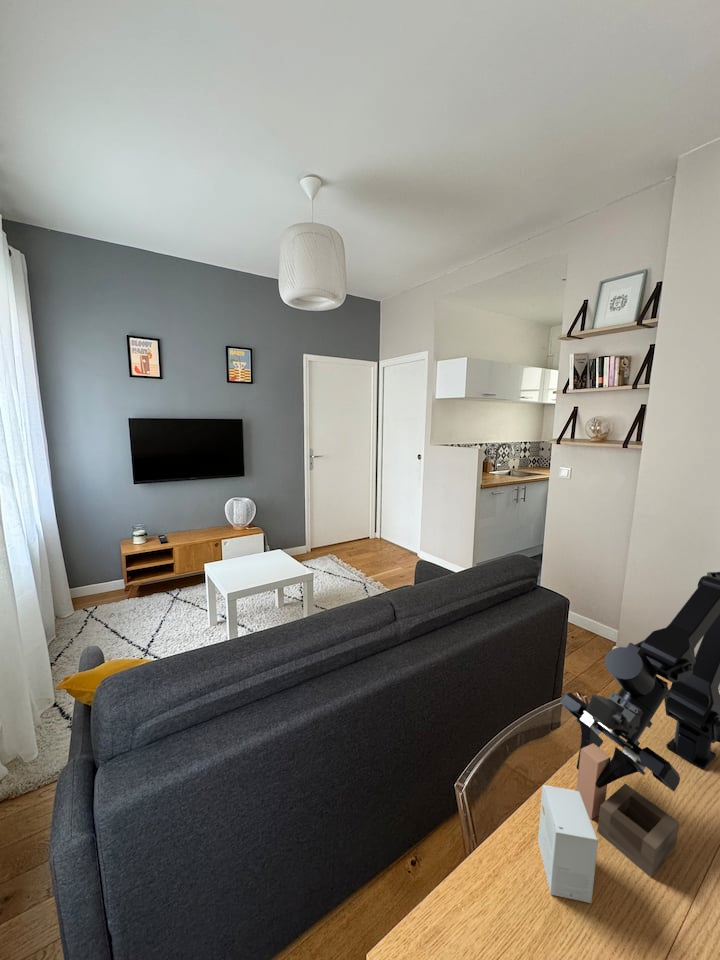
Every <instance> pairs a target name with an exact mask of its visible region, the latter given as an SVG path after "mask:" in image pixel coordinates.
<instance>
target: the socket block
mask: <svg viewBox="0 0 720 960" xmlns="http://www.w3.org/2000/svg"><path fill="white" fill-rule="evenodd" d="M597 821H598V822H597V829H596V831H597V833H598V834H600V836H602V837H603V838H604V839H605V840H606V841H608V842H609V843H610V844H611V845H612V846H613V847H614V848H616V850H618V851H619V852H620V853H622V855H624V856H625V857H626V858H627V859H628V860H630V861H631V862H632V863H633V864H635V865H636V866H637V867H638V868H640V870H641V871H643V872H644V873H645V874H646V875H647V876H648V877H650V878H653V876H654V875H655V874H656V873H657V872H658V870H659V869H660V868H661V867H662V866H663V865H664V864H665V862H666V861H667V860H668V858H670V856H671V855H672V854H673V853H674V851H675V850H676V846H677V841H678V835H679V834H678V833H679V828H680V822H679V821H678V820H677V819H676V818H674V817H673V816H671V815H670V814H669V813H667V812H666V811H664V810H663V809H661V808H660V807H658V806H657V805H656V804H655V803H653V802H652V801H650V800H649V799H648V798H647V797H645V796H643V794H640V792H638V791H636V790H635V789H634V788H633V787H631V786H629V785H628V784H627V783H624V784H622V786H620V787H619V788H618V789H617V790H616V791H615V792H614V793H612V794H611V795H610V796H609V797H608V798H607V799H605V802H604V803H602V804H601V805H600V812H599V816H598V820H597Z"/></svg>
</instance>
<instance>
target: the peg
mask: <svg viewBox="0 0 720 960" xmlns="http://www.w3.org/2000/svg"><path fill="white" fill-rule="evenodd" d="M611 759H612V758H611V756H610V755H609V754H608V753H606V752H605V751H604V750H602V749H601V747H598V746H596V745H595V744H594V743H593V744H590V745H588V746H586V747H584V748H582V749H581V752H580V761H579V770H578V769H577V772H578V773H577V781H576V787H575V788H576V790H575V791H579V792H580V794H581V797H582V799H583V802H584V805H585V807H586V810H587V813H588V815H589V818H590V820H591V821H592V820H593V819H595V818H597V817H599V812H600V805H601V804H602V803H604V802H605V801H606V800H607V799H606V798H607V790H608V784H607V785H605V786H603V787H601V788H598V787H597V786H596V785H595V783H596V782H597V780H598V778H599V776H600V774H601V773H602V772H603V770H604V769H605V768H606V766H607V765H608V764H609V762H610V761H611Z"/></svg>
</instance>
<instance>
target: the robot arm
mask: <svg viewBox="0 0 720 960" xmlns="http://www.w3.org/2000/svg"><path fill="white" fill-rule="evenodd" d="M699 643H700V644H699ZM698 644H699V647H698V649H697V652H695V648H696V647H697V645H698ZM695 653H696V654H695ZM604 665H605V668H606V670H607V672H609V674H610V675H611V676H612V678H613V679H614V680H615V681H616V682H617V683H618V685H619V686H620V689H619V691H618V692H617V693H615V692H612V693H611V694H610V695H609V697H605V696H602V695H598V694H594V693H593V694H592V695H591V697H590V700H589V701H588V702H589V703H588V704H587V703H586V702H584V701H583V700H582V699H580V698H579V697H577V696H576V695H575V694H574V693H572V692H568V693H564V694H563V695H562V697H561V698H560V700H559V703H560V704H561V705H562V706H563V707H564V708H565V710H567V711H568V712H569V714H571V715H572V716H574V717H575V718H576V722H577V723H578V724H579V725H580V731H581V739H580V741H581V742H580V747H579V753H578V757H577V763H576V769H577V771H578V770H579V761H580V752H581V749H582V748H584V747H586V746H588V745H590V744H593V743H594V744H595V745H596V746H598V747H599V748H601V746H602V745H603V743H604V740H603V739H602V738H601V737H600V734H603V735H604V736H606V737H607V738H609V739H610V740H611V741H613V742H614V743H615V744H617V745H618V746H619V747H621V748H622V750H621V749H619V748H618V747H617V746H616V747H615V748H614V751H613V756H612V758H611V759H610V762H609V764H608V765H607V766H606V768H605V769H604V770H603V772H602V773H601V774H600V776H599V778H598V780H597V782H596V783H595V785H596V786H597V787H598V788H601V787H603V786H605V785H607V786H608V785H609V784H611V783H613V782H615V781H617V780H619V779H620V778H624V777H626V776H630V775H633V774H636V773H640V774H641V775H642V776H645V774H646V772H645V769H646V768H647V769H648V770H649V771H651V773H652V776H653V778H655V779H656V780H658V781H659V782H660V783H661V784H662V785H664V786H665V787H667V788H668V789H669V790H671V791H672V792H675V791H676V789H677V788H678V786H679V784H680V782H681V776H680V773H679V772H678V771H677V770H676V769H675V767H674V766H673V764H671V763H670V762H669V761H668V760H666V759H665V758H664V757H662V756H660V754H658V753H657V752H655V751H654V750H652V749H651V748H650V747H648V746H646V747H644V748H642V747H640V744H641V743H640V741H639V739H640V738H641V736H642V735H643V733H644V731H645V730H646V728H648V729H651V727H652V725H653V723H652V721H651V720H652V718H654V717H653V716H654V715H655V714H656V712H657V710H659V707H660V706H661V704H662V703H663V702H664V709H665V715H666V716H668V717H670V718H671V719H673V720H675V721H676V726H675V733H674V737H673V738H672V739H671V740H670V741H668V742H667V744H666V745H665V747H666V748H667V749H668V750H670V751H672V752H673V753H675V754H677V755H678V756H680V757H682V758H683V759H685V760H686V761H689V763H691V764H693V765H695V766H697V767H698V768H700V769H702V770H706V768H707V767H708V766H709V765H711V763H712V762H713V761H714V760H715V758H716V757H717V753H716V752H714V751H712V750H711V748H712V744H715V743H720V690H719V687H720V571H712V572H711V571H709V572H706V575H703V576H701V577H700V578H699V580H698V583H697V588H696V590H695V591H694V592H693V593H692V594H691V595H690V597H689V598H688V600H687V601H686V602H685V604H683V606H682V607H681V609H680V610H679V611H678V613H676V615H675V617H674V618H673V619H672V620H671V622H670V623H669V624H668V625H667V626H666V627H663V628H660V629H656V630H653V631H652V632H651V633H650V634H649V635H648V636H647V637H646V638H644V639H643V640H642V641H640V642H637V643H636V644H634V643H632V642H629V643H628V645H627V646H625V647H624V646H619V647H615V648H613V649H611V650H609V651H607V653H606V655H605V658H604ZM658 676H660V677H658ZM662 678H663V679H662ZM664 679H665V680H666V681H665V680H664ZM667 681H669V682H670V683H671V685H670V688H669V686H668V685H669V684H668V682H667Z"/></svg>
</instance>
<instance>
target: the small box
mask: <svg viewBox="0 0 720 960" xmlns="http://www.w3.org/2000/svg"><path fill="white" fill-rule="evenodd" d="M541 787H542V789H541V800H540V811H539V812H540V813H539V823H538V824H539V825H538V835H537V837H538V838H537V841H538V845H539V850H540V854H541V858H542V863H543V868H544V872H545V875H546V876H545V877H546V879H547V880H546V881H547V885H548V888H549V894H550V895H551V896H557V897H562V898H565V899H571V900H575V901H580V902H584V903H589V904H591V903H592V902H593V892H594V884H595V883H594V882H595V872H596V863H597V853H598V845H599V839H598V836H597V834H596V831H595V829H594V826H593V823H592V820H591V819H590V818H589V815H588V813H587V810H586V807H585V805H584V802H583V799H582V797H581V794H580V792H579V791H576V790H574V789H568V788H564V787H557V786H551V785H545V784H543V785H542V786H541Z"/></svg>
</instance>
